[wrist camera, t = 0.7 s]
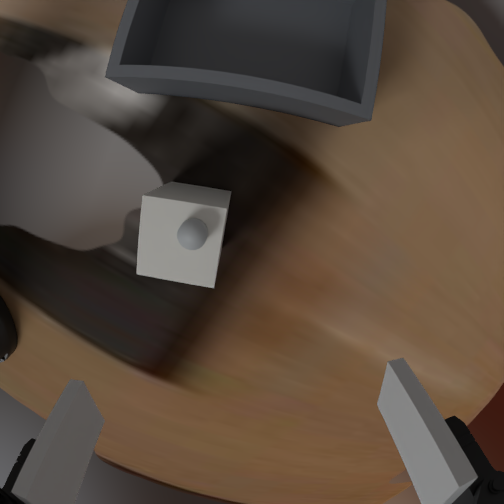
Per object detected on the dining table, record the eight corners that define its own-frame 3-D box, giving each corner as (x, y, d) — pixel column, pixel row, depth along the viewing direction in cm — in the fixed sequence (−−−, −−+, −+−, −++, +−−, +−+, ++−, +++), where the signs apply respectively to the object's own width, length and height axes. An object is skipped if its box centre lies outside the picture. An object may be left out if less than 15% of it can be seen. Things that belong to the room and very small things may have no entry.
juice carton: (164, 239, 30) (132, 279, 21) (171, 181, 29) (138, 197, 19) (221, 249, 31) (212, 294, 21) (231, 191, 29) (226, 211, 20)
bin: (138, 93, 25) (104, 76, 18) (173, -27, 21) (156, -65, 13) (338, 126, 27) (371, 120, 20) (358, 5, 22) (388, -26, 15)
